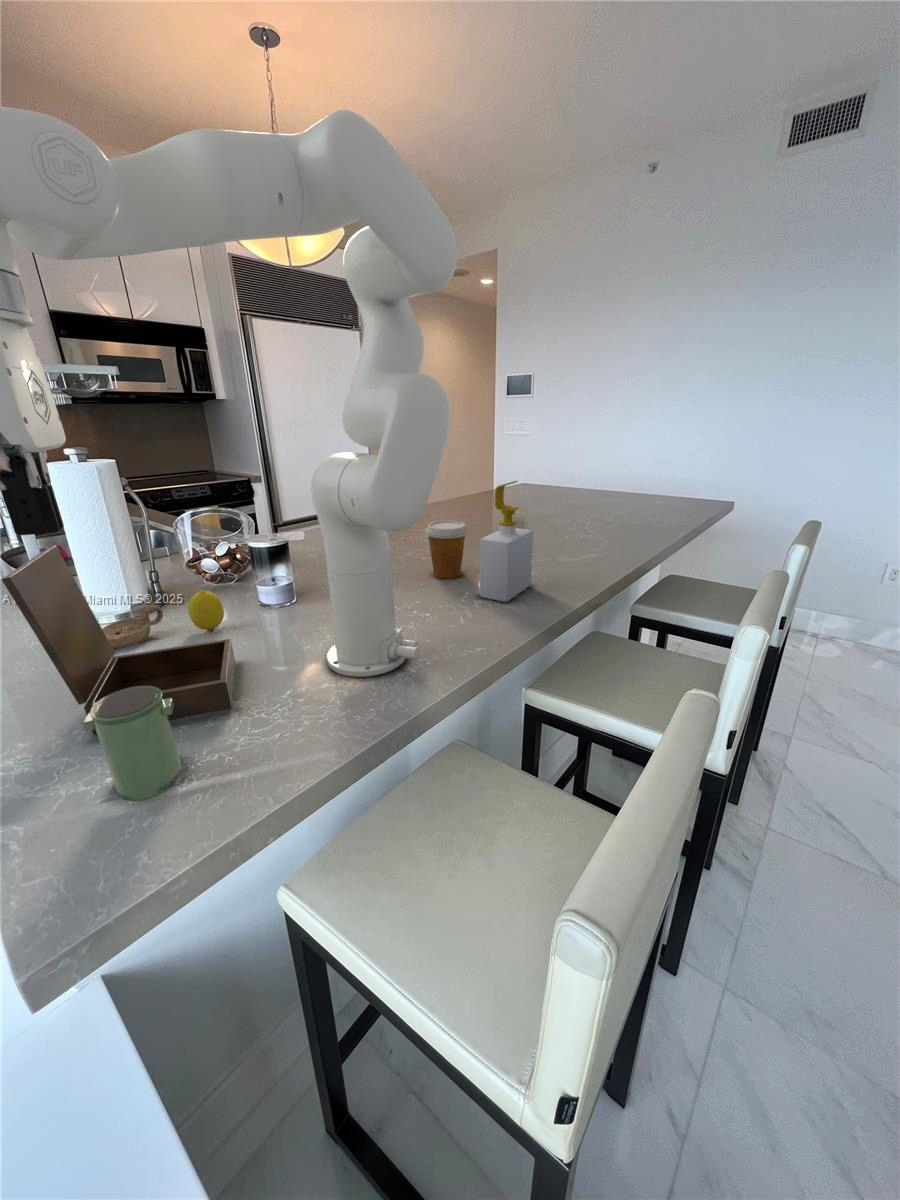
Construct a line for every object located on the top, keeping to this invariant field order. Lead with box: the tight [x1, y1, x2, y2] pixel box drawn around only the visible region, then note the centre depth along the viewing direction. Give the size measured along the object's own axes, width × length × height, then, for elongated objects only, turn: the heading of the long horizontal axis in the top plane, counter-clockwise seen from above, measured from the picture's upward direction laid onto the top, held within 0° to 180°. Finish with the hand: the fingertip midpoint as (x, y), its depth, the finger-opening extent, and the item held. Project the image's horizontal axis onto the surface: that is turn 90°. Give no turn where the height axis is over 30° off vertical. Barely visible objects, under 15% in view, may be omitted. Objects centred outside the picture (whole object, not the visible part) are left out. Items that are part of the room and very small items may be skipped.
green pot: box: [83, 686, 182, 802], centre depth 51 cm, size 8×6×10 cm
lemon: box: [188, 589, 225, 633], centre depth 87 cm, size 6×6×8 cm
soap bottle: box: [479, 480, 534, 603], centre depth 101 cm, size 12×7×23 cm, turn 147°
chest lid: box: [1, 545, 116, 706], centre depth 60 cm, size 16×14×1 cm
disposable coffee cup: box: [425, 520, 468, 579], centre depth 114 cm, size 10×10×12 cm
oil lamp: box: [102, 604, 164, 651], centre depth 84 cm, size 13×8×5 cm, turn 151°
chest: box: [83, 638, 236, 736], centre depth 67 cm, size 16×14×5 cm
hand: (41, 531), depth 45 cm, fingers closed
